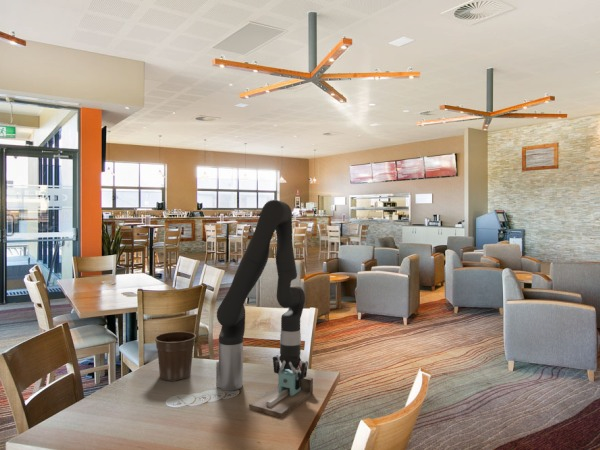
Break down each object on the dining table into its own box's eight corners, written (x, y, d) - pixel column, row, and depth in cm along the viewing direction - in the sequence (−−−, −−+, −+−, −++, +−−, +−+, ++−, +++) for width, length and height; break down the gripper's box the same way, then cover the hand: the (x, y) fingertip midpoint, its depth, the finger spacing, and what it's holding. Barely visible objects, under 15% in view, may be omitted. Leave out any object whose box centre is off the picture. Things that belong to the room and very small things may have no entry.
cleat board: (249, 408, 151) (249, 391, 151) (282, 386, 170) (283, 371, 170) (281, 417, 145) (281, 399, 144) (312, 394, 164) (312, 378, 164)
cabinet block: (277, 393, 160) (277, 373, 160) (286, 386, 166) (287, 368, 166) (291, 396, 157) (291, 377, 157) (300, 390, 163) (301, 371, 163)
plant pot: (159, 368, 187) (159, 331, 187) (197, 368, 189) (198, 330, 189) (150, 383, 171) (150, 342, 171) (192, 382, 173) (193, 341, 172)
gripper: (268, 341, 162) (267, 386, 162) (302, 347, 154) (301, 395, 155) (279, 336, 168) (278, 379, 169) (312, 342, 161) (311, 387, 162)
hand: (289, 386), depth 162 cm, fingers closed on cabinet block, 6 cm apart
